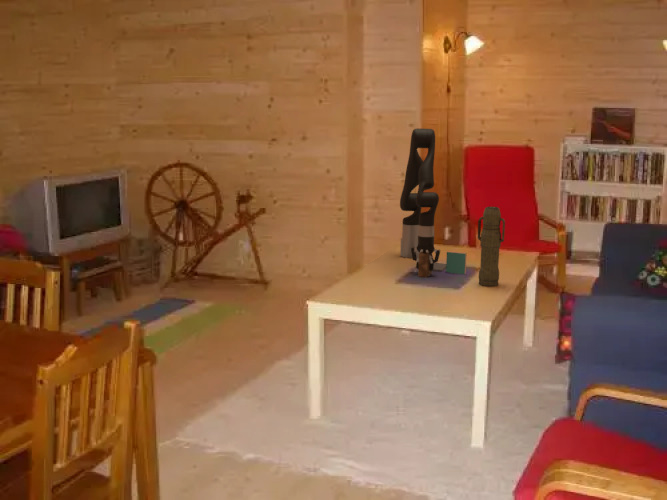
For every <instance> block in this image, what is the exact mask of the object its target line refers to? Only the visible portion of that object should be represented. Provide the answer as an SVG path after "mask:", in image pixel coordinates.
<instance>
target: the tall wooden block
mask: <svg viewBox="0 0 667 500" xmlns="http://www.w3.org/2000/svg"><path fill="white" fill-rule="evenodd" d="M428 257H429V253H419V265H418V269H417V277H418V276H419V278H428V277H429V276H430V274H431V275H432V271H430V260H429V258H428ZM427 276H428V277H427Z"/></svg>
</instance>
